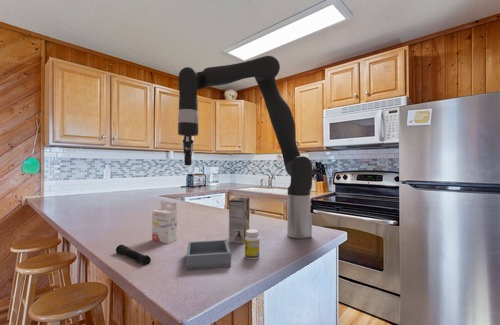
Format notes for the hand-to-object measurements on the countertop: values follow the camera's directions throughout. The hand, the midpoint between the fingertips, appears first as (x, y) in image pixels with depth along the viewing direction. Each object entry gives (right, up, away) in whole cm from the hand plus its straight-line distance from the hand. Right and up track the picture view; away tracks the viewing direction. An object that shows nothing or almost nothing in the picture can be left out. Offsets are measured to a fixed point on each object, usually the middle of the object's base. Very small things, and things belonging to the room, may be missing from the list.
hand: (188, 165), depth 94 cm
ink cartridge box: (-10, -30, +2) cm, 31 cm away
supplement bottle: (+24, -30, -14) cm, 41 cm away
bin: (+11, -29, -17) cm, 36 cm away
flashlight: (-14, -30, -16) cm, 36 cm away
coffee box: (+19, -30, +4) cm, 36 cm away
